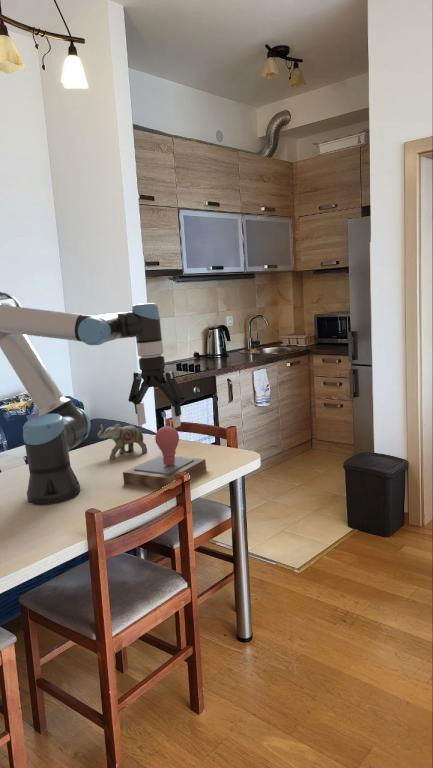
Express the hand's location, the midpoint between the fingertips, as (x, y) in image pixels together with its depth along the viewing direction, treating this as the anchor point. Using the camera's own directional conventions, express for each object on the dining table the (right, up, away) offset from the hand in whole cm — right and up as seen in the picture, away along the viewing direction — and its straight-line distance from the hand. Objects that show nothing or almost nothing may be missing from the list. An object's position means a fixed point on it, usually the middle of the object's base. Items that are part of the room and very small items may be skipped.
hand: (159, 425), depth 173 cm
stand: (+2, -16, +3) cm, 16 cm away
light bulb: (+3, -12, +1) cm, 13 cm away
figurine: (-16, -13, +32) cm, 38 cm away
